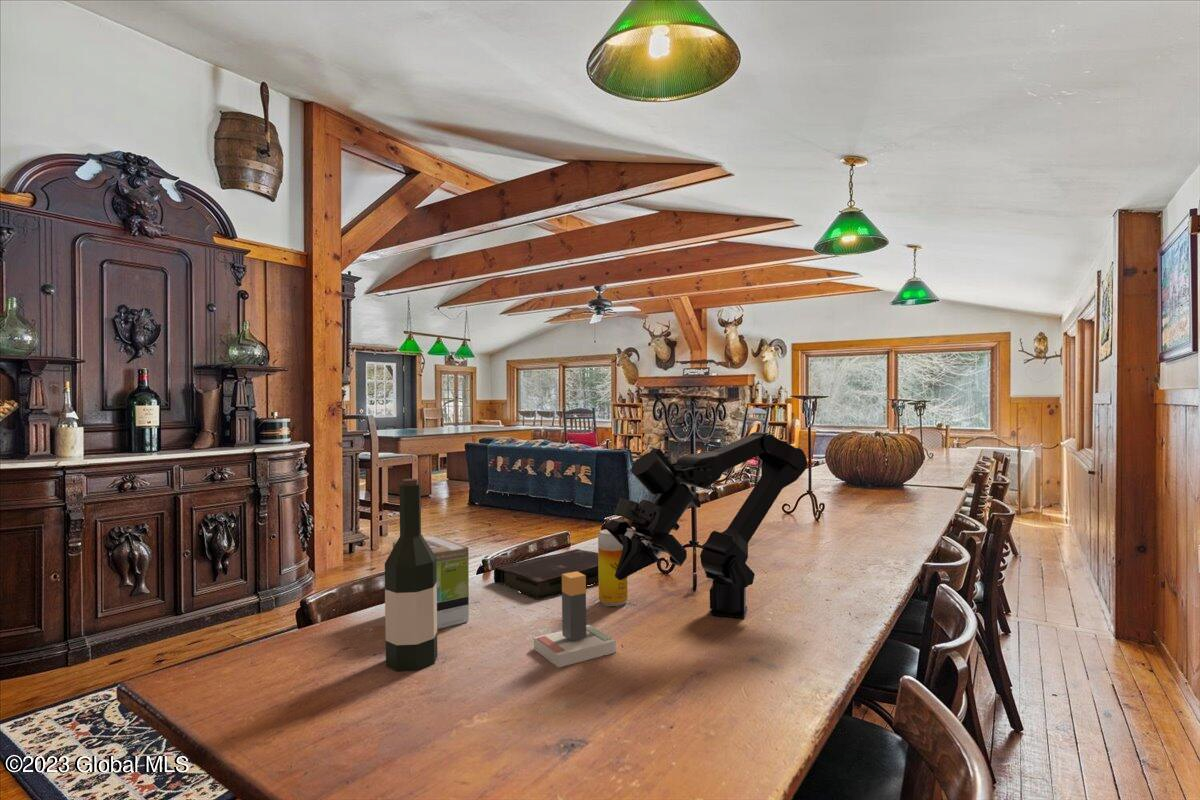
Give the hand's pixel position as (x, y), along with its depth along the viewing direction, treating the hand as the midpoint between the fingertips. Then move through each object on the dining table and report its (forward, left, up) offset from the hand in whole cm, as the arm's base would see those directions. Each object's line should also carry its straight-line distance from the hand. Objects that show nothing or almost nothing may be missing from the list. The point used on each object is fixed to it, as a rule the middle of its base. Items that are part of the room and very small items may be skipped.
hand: (617, 578), depth 114 cm
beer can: (+7, -19, -11) cm, 23 cm away
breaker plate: (+6, +7, -11) cm, 14 cm away
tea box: (+39, 0, -11) cm, 40 cm away
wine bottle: (+30, +19, -11) cm, 37 cm away
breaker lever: (+6, +7, -8) cm, 12 cm away
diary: (+24, -31, -12) cm, 41 cm away
